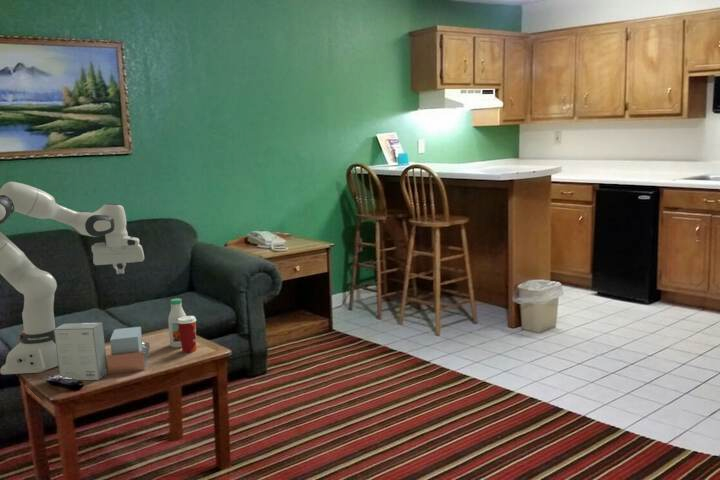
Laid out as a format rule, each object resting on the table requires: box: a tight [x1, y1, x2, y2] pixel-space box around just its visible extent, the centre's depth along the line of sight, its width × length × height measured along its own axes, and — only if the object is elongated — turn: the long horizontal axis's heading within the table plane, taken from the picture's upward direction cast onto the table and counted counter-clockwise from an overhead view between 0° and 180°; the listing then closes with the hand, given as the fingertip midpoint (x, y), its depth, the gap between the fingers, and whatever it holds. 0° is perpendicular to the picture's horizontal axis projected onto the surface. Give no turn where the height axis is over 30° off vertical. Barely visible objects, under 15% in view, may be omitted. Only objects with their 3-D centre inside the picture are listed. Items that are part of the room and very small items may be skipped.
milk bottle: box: [167, 297, 187, 348], centre depth 276 cm, size 8×8×20 cm
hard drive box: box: [54, 322, 108, 381], centre depth 243 cm, size 16×8×20 cm, turn 84°
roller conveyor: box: [106, 341, 150, 375], centre depth 261 cm, size 13×28×7 cm, turn 14°
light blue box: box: [109, 326, 143, 354], centre depth 256 cm, size 10×14×9 cm
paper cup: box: [177, 315, 197, 354], centre depth 268 cm, size 8×8×14 cm
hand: (120, 273), depth 277 cm, fingers closed
